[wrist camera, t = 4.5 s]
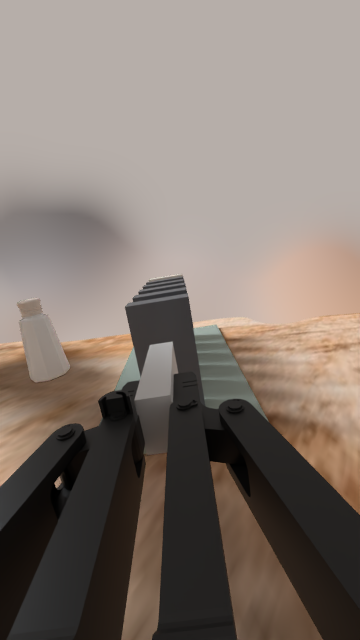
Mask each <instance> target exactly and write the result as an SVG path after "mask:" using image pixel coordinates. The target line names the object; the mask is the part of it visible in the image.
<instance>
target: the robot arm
mask: <svg viewBox="0 0 360 640" xmlns="http://www.w3.org/2000/svg"><path fill="white" fill-rule="evenodd" d="M98 402H99V406H100V409H101V413H102V417H103V419H102V421H101V423H100V425H99V426H97V427H95V428H92V429H89V430H86V431H84V429H83V426H81V425H80V424H68V425H65V426H63V427H61V428H60V429H58V430H56V431H55V432H54V433H53V434H51V436H50V437H49V438H48V439H47V440H46V441H45V442H44V443H43V444H42V445H41V446H40V447H39V448H38V449H37V450H36V451H35V452H34V453H33V454H32V455H31V456H30V457H29V458H28V459H27V460H26V461H25V462H24V463H23V464H22V465H21V466H20V467H19V468H18V469H17V470H16V471H15V472H14V473H13V474H12V475H11V476H10V478H9V479H8V480H7V481H6V482H5V483H4V484H3V485H2V486H1V487H0V640H121V636H122V629H123V622H124V615H125V608H126V600H127V593H128V586H129V579H130V572H131V565H132V558H133V551H134V543H135V536H136V529H137V522H138V515H139V508H140V501H141V494H142V487H143V479H144V472H145V465H146V464H145V458H144V454H143V453H144V447H145V449H146V453H147V455H153V454H160V453H167V466H166V486H165V506H164V526H163V546H162V566H161V586H160V606H159V622H158V628H157V631H156V632H155V633H154V634H153V637H152V640H237V635H236V629H235V622H234V615H233V609H232V602H231V596H230V589H229V583H228V576H227V570H226V563H225V557H224V550H223V544H222V537H221V531H220V524H219V518H218V511H217V505H216V498H215V492H214V485H213V479H212V472H211V465H210V461H213V462H221V463H226V465H227V468H228V470H229V472H230V474H231V476H232V477H233V479H234V481H235V483H236V485H237V486H238V488H239V490H240V492H241V493H242V495H243V497H244V499H245V501H246V502H247V504H248V506H249V508H250V510H251V511H252V513H253V515H254V517H255V518H256V520H257V522H258V524H259V526H260V527H261V529H262V531H263V533H264V535H265V536H266V538H267V540H268V542H269V544H270V545H271V547H272V549H273V551H274V552H275V554H276V556H277V558H278V560H279V561H280V563H281V565H282V567H283V569H284V570H285V572H286V574H287V576H288V577H289V579H290V581H291V583H292V585H293V586H294V588H295V590H296V592H297V594H298V595H299V597H300V599H301V601H302V602H303V604H304V606H305V608H306V610H307V611H308V613H309V615H310V617H311V619H312V620H313V622H314V624H315V626H316V627H317V629H318V631H319V633H320V635H321V636H322V638H323V640H360V515H359V514H358V513H357V512H356V511H355V510H354V509H353V508H352V507H351V506H350V505H349V504H348V503H347V502H346V501H345V500H344V499H343V497H342V496H341V495H340V494H339V493H338V492H337V491H336V490H335V489H334V488H333V487H332V486H331V485H330V484H329V483H328V482H327V481H326V480H325V479H324V478H323V477H322V476H321V475H320V474H319V473H318V472H317V471H316V470H315V469H314V468H313V467H312V466H311V465H310V464H309V463H308V462H307V461H306V460H305V459H304V458H303V457H302V455H301V454H300V453H299V452H298V451H297V450H296V449H295V448H294V447H293V446H292V445H291V444H290V443H289V442H288V441H287V440H286V439H285V438H284V437H283V436H282V435H281V434H280V433H279V432H278V431H277V430H276V429H275V428H274V427H273V426H272V425H271V424H270V423H269V422H268V421H267V420H266V419H265V418H264V417H263V416H262V415H261V413H260V412H259V411H258V410H257V409H256V408H255V407H254V406H253V405H252V404H251V403H249V402H248V401H246V400H243V399H229V400H226V401H224V402H222V403H221V404H220V405H219V408H218V409H214V408H209V407H206V406H204V405H203V404H202V403H201V401H200V396H199V389H198V383H197V377H196V375H195V374H194V373H193V372H192V371H191V372H184V373H178V369H177V363H176V358H175V352H174V347H173V341H172V342H166V343H160V344H153V345H150V346H149V350H148V353H147V357H146V360H145V364H144V367H143V371H142V375H141V378H140V380H137V381H131V382H127V383H126V384H125V385H124V386H123V387H122V390H117V391H113V392H110V393H108V394H105V395H104V396H102V397H101V398H100V399H99V401H98ZM59 476H60V478H61V481H62V483H61V484H60V486H59V487H58V488H56V487H55V484H54V483H55V481H56V480H57V479H58V477H59Z"/></svg>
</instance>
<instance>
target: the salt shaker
mask: <svg viewBox="0 0 360 640" xmlns="http://www.w3.org/2000/svg"><path fill="white" fill-rule="evenodd" d="M17 306H18V307H19V309H20V312H21V314H22V317H23V319H22V320H20V321H19V325H20V331H21V335H22V341H23V346H24V351H25V355H26V360H27V365H28V370H29V375H30V379H32V380H33V381H34V382H36V383H37V382H44V381H50V380H52V379H55V378H57V377H59V376H62V375H64V374H65V373H66V372H67V371H68V370H69V369H70V365H69V362H68V360H67V358H66V355H65V353H64V351H63V348H62V346H61V344H60V341H59V339H58V337H57V334H56V332H55V329H54V327H53V325H52V322H51V320H50V318H49V316H48V315H46V314H43V311H42V308H41V305H40V299H38V298H31V299H27V300H23V301H19V302H18V303H17Z"/></svg>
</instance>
